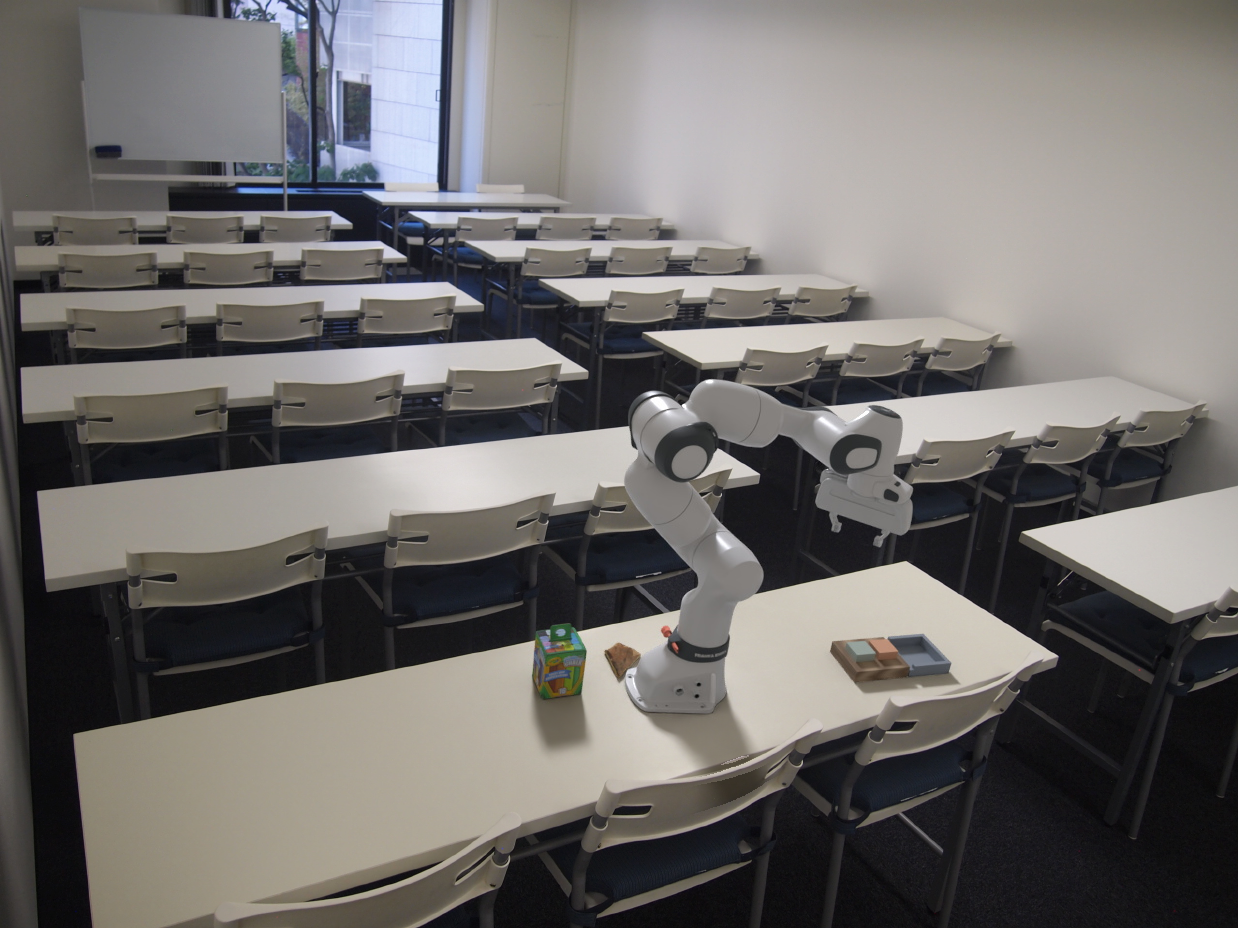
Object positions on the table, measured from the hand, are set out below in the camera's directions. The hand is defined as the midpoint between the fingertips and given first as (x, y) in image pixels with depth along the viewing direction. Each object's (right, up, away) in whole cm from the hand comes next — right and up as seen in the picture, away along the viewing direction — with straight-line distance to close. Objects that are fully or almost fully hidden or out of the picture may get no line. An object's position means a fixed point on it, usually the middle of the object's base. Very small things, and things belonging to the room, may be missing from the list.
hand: (856, 537), depth 198 cm
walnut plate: (+8, -32, +20) cm, 38 cm away
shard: (-50, -30, +11) cm, 59 cm away
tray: (+20, -31, +23) cm, 44 cm away
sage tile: (+5, -29, +17) cm, 34 cm away
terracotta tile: (+11, -29, +19) cm, 36 cm away
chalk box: (-65, -32, +1) cm, 72 cm away
